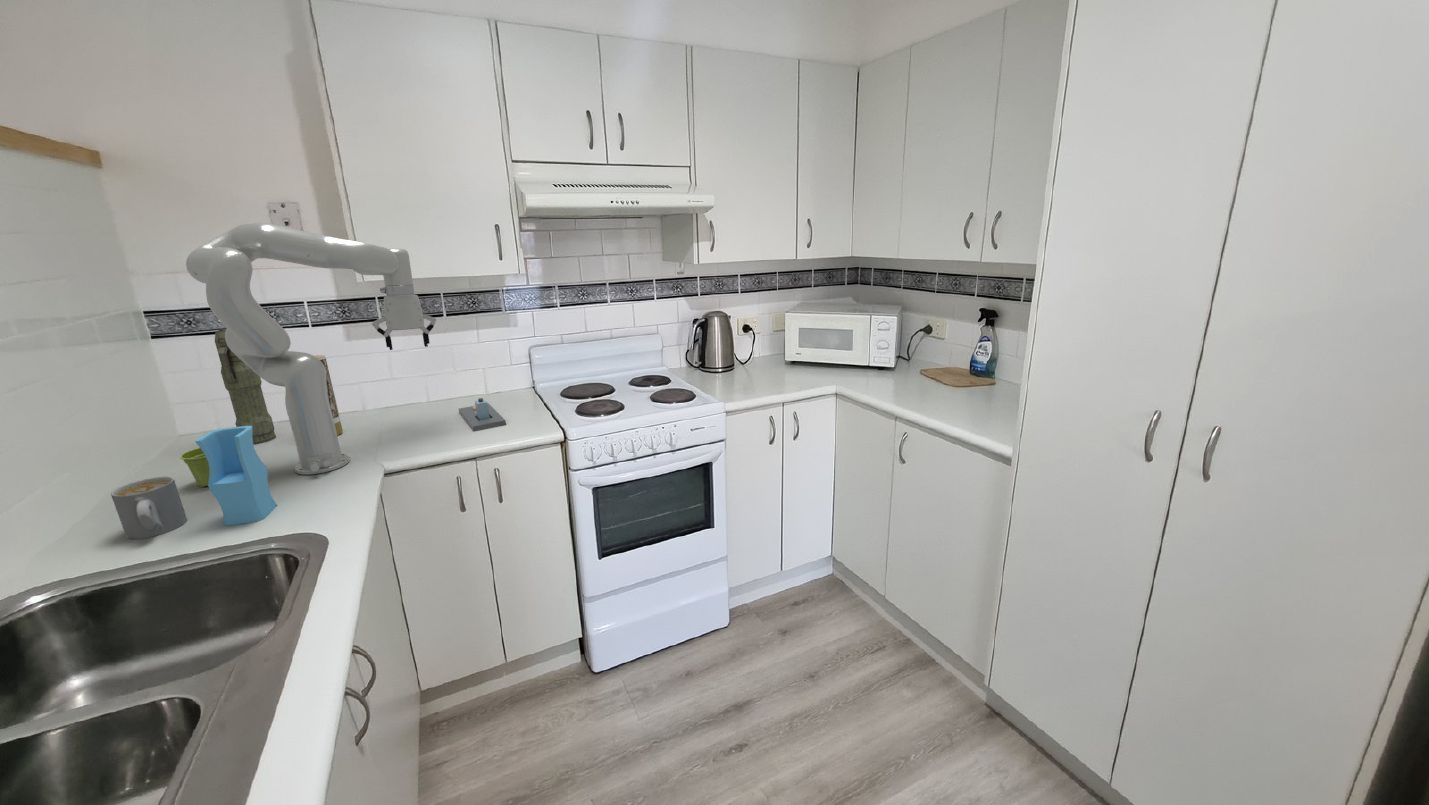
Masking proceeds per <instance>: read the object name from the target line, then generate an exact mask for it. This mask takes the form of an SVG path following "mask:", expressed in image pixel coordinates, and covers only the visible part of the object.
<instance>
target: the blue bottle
mask: <svg viewBox="0 0 1429 805" xmlns="http://www.w3.org/2000/svg"><path fill="white" fill-rule="evenodd" d="M487 403H488V402H487V400H485V399H484V398H483V397H480V398H477V400H474V406H476V412H477V419H478V421H480V420H485V419H490V417H489V410H488V404H487Z"/></svg>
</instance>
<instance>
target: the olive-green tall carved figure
mask: <svg viewBox="0 0 1429 805" xmlns="http://www.w3.org/2000/svg"><path fill="white" fill-rule="evenodd" d="M226 329H227V327H225V328H220V329H218V330H217V331H215V333H214V344H215V347H216V351H217V355H218V358H219V361H220V365H221V369H220V374H221V377H222V381H223V384H224V388H225V390H226V391H227V393H228V394H229V398H230V401H231V405H232V408H233V412H234V415H235V427H241V426H252V439H253V445H259V444H264V443H267V442H270V441H272V440H275V439H276V437H277V436H276V433H275V425H274V422H273V418H272V416H271V414H270V413H269V411H268V408H267V404H266V400H265V396H264V393H263V389H262V382H263V381H262V378H261V377H260V376H259V375H257V374H256V373H255V372H254V371H253V370H252V369H251V368H249V367H248V366H247V365H246V364H245V363H244V362H243V361H242V360H241V359H239V358H238V357H237V356H236V355H235V354H234V353H233V352H232V351H231V350H230V348H229V347H228V345H227V343H226V340H225V331H226Z"/></svg>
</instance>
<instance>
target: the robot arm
mask: <svg viewBox="0 0 1429 805" xmlns="http://www.w3.org/2000/svg"><path fill="white" fill-rule="evenodd" d="M409 255H410V254H409V252H408V251H407V250H406V249H405V248H387V247H384V246H380V245H375V244H371V243H366V242H362V241H354V240H351V239H350V240H349V239H345V238H340V237H335V236H329V235H323V234H318V233H313V232H309V231H304V230H301V229H296V228H291V227H287V226H284V225H280V224H279V225H277V224H275V223H268V222H257V223H256V222H255V223H254V222H253V223H251V222H250V223H244V224H239V225H237V226H235V227H233V228H231V229H229V230H228V231H227V230H226V231H225V232H224V233H222V234H220V235H219V236H216V237H215V238H213V239H212V240H209V241H208V242H206V243H203V244H202V245H200V246H198V247H196V248H195V249H194V250H192V251H191V252H190V253H189V254H188V256H187V258H186V261H185V267H186V270H187V272H188V274H189V275H190V276H191V277H192V278H193V279H195V280H196V281H198V282H200V283H202V284H205V297H206V301H207V304H208V307H209V308H210V310H211V312H212V313H213V315H214V316H215V317H216V318H217V319H218V320H219V321H220V322H221V323H222V324H223V325H224V326H225V329H226V328H227V329H226V331H225V340H226V343H227V345H228V347H229V348H230V350H231V351H232V352H233V353H234V354H235V355H236V356H237V357H238V358H239V359H241V360H242V361H243V362H244V363H245V364H246V365H247V366H248V367H249V368H251V369H252V370H253V371H254V372H255V373H256V374H257V375H259V376H260V378H261V380H263V381H265V382H266V383H269V384H271V385H274V386H277V387H278V386H279V387H284V388H285V393H284V394H285V396H284V397H285V399H284V401H285V402H284V403H285V404H284V405H285V410H286V413H287V417H288V420H289V424H290V428H291V431H292V436H293V439H294V443H295V444H294V445H295V447H296V451H297V454H298V459H299V462H298V463H297V464H295V466H294V470H295V473H296V474H299V475H303V476H304V475H306V476H308V475H309V476H310V475H317V474H323V473H327V472H332V471H335V470H337V469H339V468H342V467H344V466H346V465H348V464H349V462H350V456H349V455H348V454H346V453H342V450H341V449H342V448H341V446H340V442H339V438H338V435H337V433H336V428H335V424H334V420H333V416H332V411H331V408H330V403H329V399H328V394H327V384H326V370H325V367H324V365H323V363H322V362H321V361H320V360H319V359H318V358H317V357H315V356H316V355H313V354H311V353H307V352H302V351H295V350H294V351H293V350H292V351H291V350H290V347H291V344H292V343H291V339H290V336H289V334H288V332H287V331H286V330H285V329H284V327H282V325H280V324H279V323H278V322H277V321H276V320H275V319H274V318H273V317H272V316H271V315H270V313H268V312H267V311H266V310H265V309H264V308H263V306H261V305H260V304H259V302H258V301H257V300H256V299H255V298H254V296H253V294H252V290H251V280H252V275H253V264H252V263H253V262H254V261H256V260H258V259H269V260H274V261H275V260H276V261H278V262H279V261H280V262H286V263H291V264H297V265H303V266H309V267H313V268H322V269H343V270H344V269H346V270H353V271H354V272H355V273H357V274H359V275H363V276H383V282H384V287H379V292H380V294H385V295H386V296H384V297H383V311H384V315H383V316H382V317H380V318H378V319H376V320H374V321H372V323H371V325H372V327H374V329H375V330H376V331H377V332H378V333H379V335H380V334H381V335H382V336H383V337H384V338H385V345H386V348H388V349H389V351H392V350H394V349H393V343H392V338H391V335H390V334H391V333H392V332H393V331H404V330H405V331H406V330H417V329H420V330H421V331H422V338H423V340H422V341H423V346H424V347H425V348H428V345H429V344H430V338H429V337H430V336H429V334H430V332H431V331H432V329H433V328H434V326H435V324H436V322H437V319H436V318H435V317H433V316H430V315H428V314H425V313H423V310H422V306H421V304H422V303H421V301H420V299H419V295H417V294H415V289H414V281H413V275H412V268H411V260H410V256H409ZM424 320H426V321H429V324H428V325H427V326H426V327H425V321H424ZM384 322H385V326H386V329H385V330H384V329H382V328H381V326H380V324H382V323H384Z"/></svg>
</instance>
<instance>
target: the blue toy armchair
mask: <svg viewBox="0 0 1429 805" xmlns="http://www.w3.org/2000/svg"><path fill="white" fill-rule="evenodd" d="M195 443H196V445H197V446H198V448H201V450H202V451H203V453H204V454H205V456H206V458H207V460H208V463H209V472H210V473H209V482H208V486H207V487H208V489H209V491H210V492H211V494H212V495H213V496H214V497H215V499H216V500H217V502H218V504H219V506H220V508H221V511H222V515H223V525H224V526H229V527H230V526H233V525H234V526H235V525H236V526H237V525H242V524H247V523H249V524H250V523H256V522H259V521H262V520H265V519H266V518H267V517H268V516H269V515H270V514H271V512H273V510H274V509H275V508H276V507H277V506H278V504H277V502H276V501H275V500H274V498H273V496H272V494H271V492H270V487H269V481H268V471H269V470H268V467H267V465H266V464H265V462H264V461H262V459H261V458H260V457H259V454H258V453H257V451H256V449H255V446H254V445H255V444H254V445H253V439H252V426H241V427H236V426H233V427H224V428H217V429H213V430H211V431H209V432H207V433H205V434H204V435H202V436H200V437H199V438H197V439H195Z"/></svg>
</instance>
